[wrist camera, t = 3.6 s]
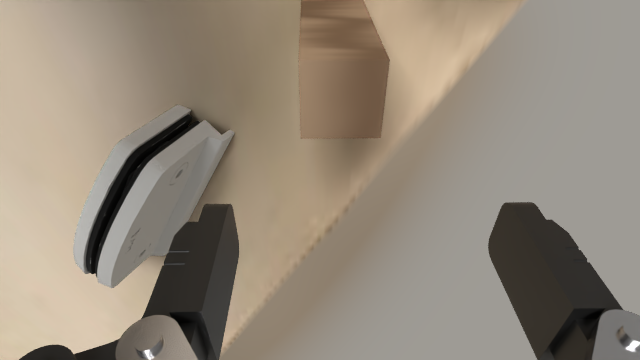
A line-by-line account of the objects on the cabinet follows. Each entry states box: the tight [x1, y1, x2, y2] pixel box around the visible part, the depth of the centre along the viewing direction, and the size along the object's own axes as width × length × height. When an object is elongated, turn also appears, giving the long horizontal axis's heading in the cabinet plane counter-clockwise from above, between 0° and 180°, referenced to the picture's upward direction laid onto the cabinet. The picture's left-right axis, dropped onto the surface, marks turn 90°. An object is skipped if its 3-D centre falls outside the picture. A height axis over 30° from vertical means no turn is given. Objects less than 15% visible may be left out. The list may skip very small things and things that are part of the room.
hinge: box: [73, 105, 234, 288], centre depth 33 cm, size 17×5×10 cm, turn 149°
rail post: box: [299, 0, 390, 138], centre depth 23 cm, size 4×4×12 cm
